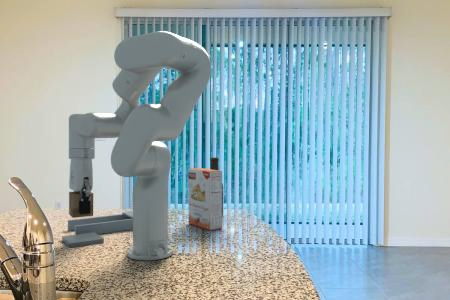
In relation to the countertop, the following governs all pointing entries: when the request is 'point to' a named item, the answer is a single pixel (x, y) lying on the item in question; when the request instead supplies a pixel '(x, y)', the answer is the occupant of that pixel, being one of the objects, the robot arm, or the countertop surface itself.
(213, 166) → the beer bottle
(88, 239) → the coaster
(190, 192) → the cracker box
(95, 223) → the channel
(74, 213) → the block
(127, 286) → the countertop surface
